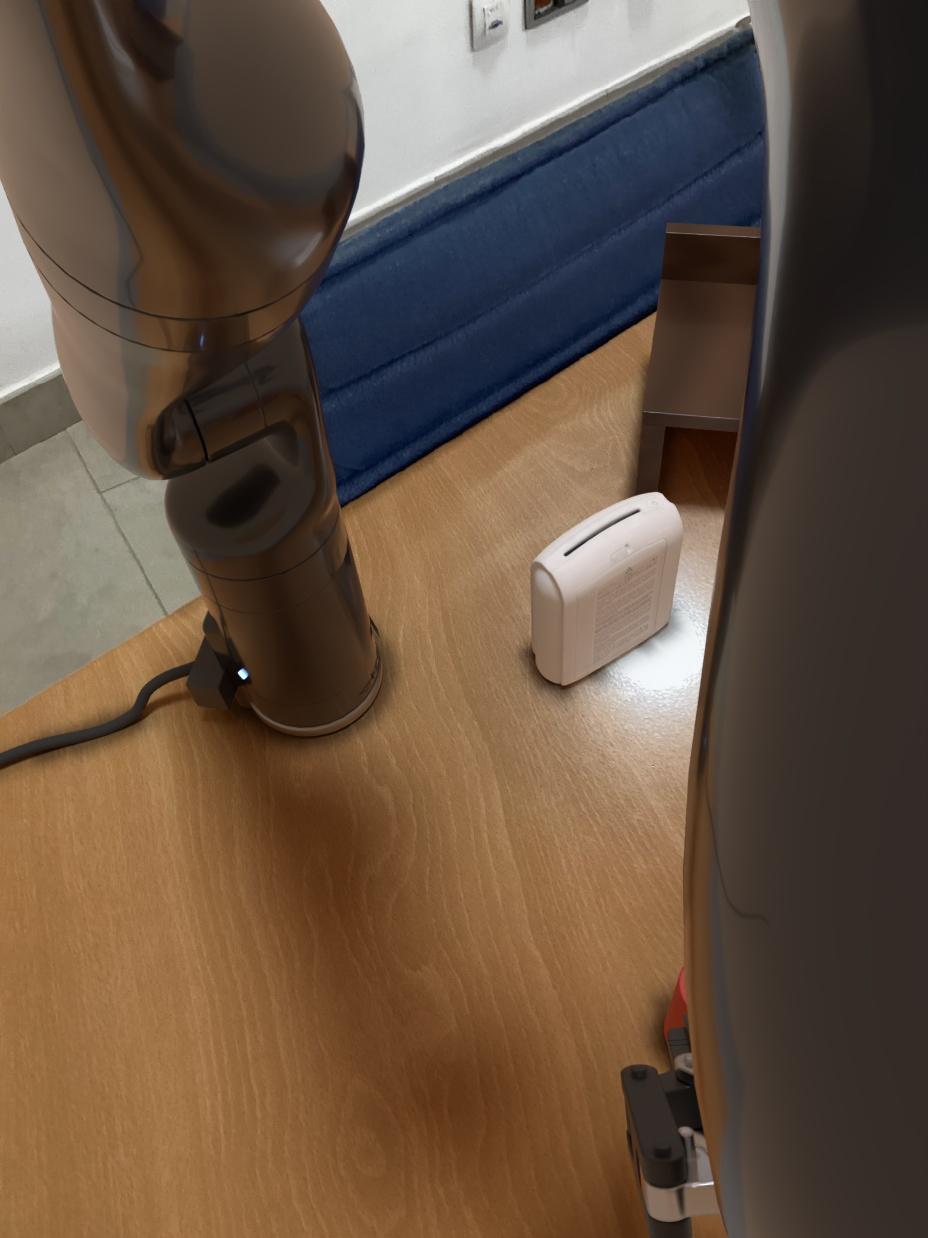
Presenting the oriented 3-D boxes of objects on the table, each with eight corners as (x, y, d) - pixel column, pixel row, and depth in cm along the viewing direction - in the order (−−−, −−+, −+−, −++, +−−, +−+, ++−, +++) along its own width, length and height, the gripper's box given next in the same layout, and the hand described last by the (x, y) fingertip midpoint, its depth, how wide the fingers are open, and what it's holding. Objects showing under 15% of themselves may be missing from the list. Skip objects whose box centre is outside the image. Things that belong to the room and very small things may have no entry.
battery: (660, 1057, 57) (678, 1008, 49) (666, 998, 59) (683, 940, 51) (721, 1068, 57) (748, 1020, 49) (724, 1008, 59) (751, 952, 50)
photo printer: (640, 583, 76) (652, 463, 65) (679, 623, 73) (698, 505, 63) (522, 654, 73) (516, 541, 63) (559, 698, 71) (559, 588, 61)
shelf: (634, 508, 80) (646, 366, 68) (652, 369, 88) (667, 221, 76) (855, 530, 77) (908, 385, 65) (853, 385, 85) (899, 234, 74)
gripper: (1333, 1160, 22) (1003, 915, 38) (639, 1193, 23) (605, 943, 39) (1362, 1514, 22) (1021, 1121, 38) (672, 1528, 23) (625, 1142, 39)
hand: (810, 1031), depth 39 cm, fingers open, 8 cm apart
